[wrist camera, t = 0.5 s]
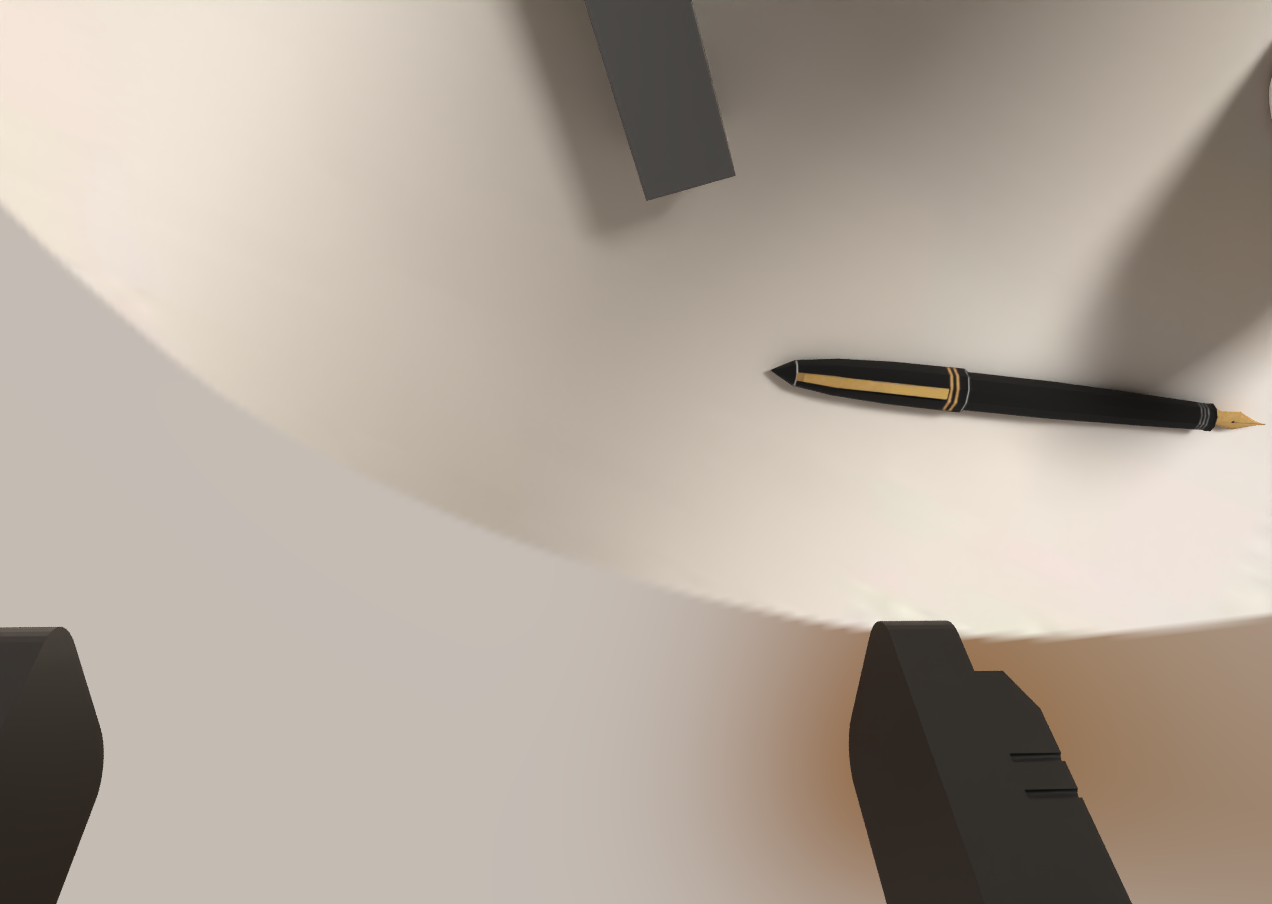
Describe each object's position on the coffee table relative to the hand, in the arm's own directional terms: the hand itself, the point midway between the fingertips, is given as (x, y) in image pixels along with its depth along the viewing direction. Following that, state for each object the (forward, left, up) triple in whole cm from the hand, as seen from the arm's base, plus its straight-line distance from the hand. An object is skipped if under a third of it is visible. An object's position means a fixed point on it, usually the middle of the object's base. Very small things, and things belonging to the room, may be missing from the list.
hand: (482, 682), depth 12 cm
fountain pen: (-10, +12, -19) cm, 25 cm away
